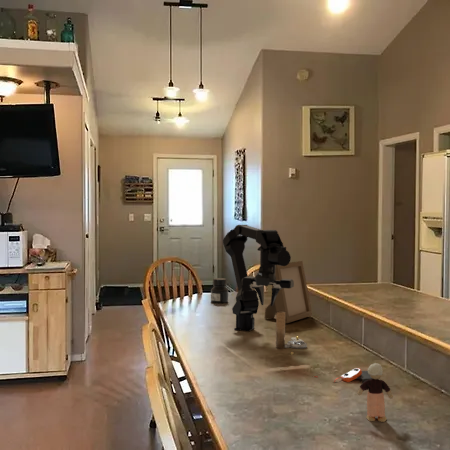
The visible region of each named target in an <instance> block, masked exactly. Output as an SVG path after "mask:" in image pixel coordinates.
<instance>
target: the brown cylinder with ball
mask: <svg viewBox="0 0 450 450" xmlns="http://www.w3.org/2000/svg"><path fill="white" fill-rule="evenodd" d="M275 316H276V317H275V318H276V321H275V323H276V324H275V325H276V326H275V348H276V349H285V348H286V349H288V348H290V349H306V348H307V347H308V344H307V342H305V341H304V342H302V341H294V340H289V341H287V343H286V323H285V312H282V311H278V312H276V315H275Z"/></svg>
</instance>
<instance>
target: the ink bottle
mask: <svg viewBox="0 0 450 450" xmlns="http://www.w3.org/2000/svg"><path fill="white" fill-rule="evenodd" d="M212 280H213V281H212V286H213V287H212V288H211V289H210V302H212V303H214V304H226V303H228V302H229V288H227V278H222V277H215V278H213V279H212Z"/></svg>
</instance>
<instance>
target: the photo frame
mask: <svg viewBox="0 0 450 450" xmlns="http://www.w3.org/2000/svg"><path fill="white" fill-rule="evenodd" d="M275 276H276V280H278V281H280V280H282V279H292V280H293V281H294V287H292V288H282V289H280V290H279V292H278V294H277V296H276V299H275V301H274V304H273V306H271V302H270V303H269V304H268V305H267V306H266V307H265V310H264V319H274V318H276V317H275V316H276V312H278V311H282V312H285V324H289V323H292V322H295V321H298V320H303V319H306V318H309V317H311V316H313V311H312V306H311V301H310V295H309V291H308V284H307V279H306V274H305V267H304V264H303V260H299V261H290V262H289V264H288V265H286V266H279V265H276V269H275ZM273 287H274V286H273V285H271V289H272V288H273Z"/></svg>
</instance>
